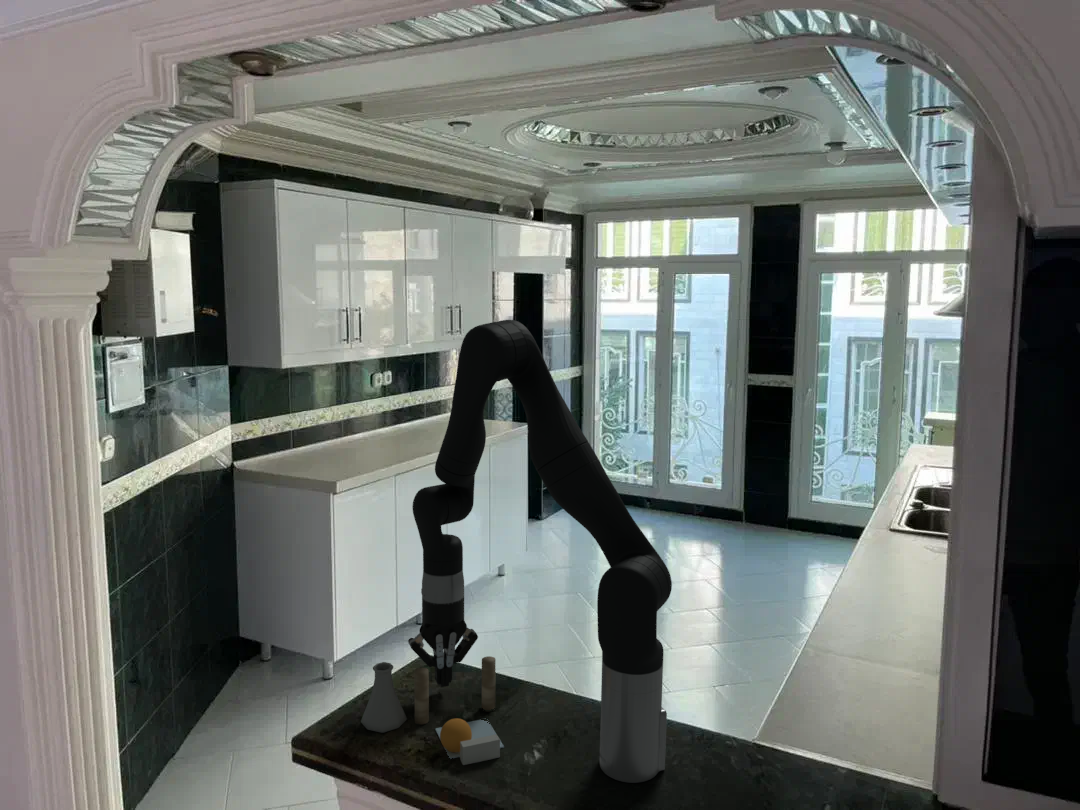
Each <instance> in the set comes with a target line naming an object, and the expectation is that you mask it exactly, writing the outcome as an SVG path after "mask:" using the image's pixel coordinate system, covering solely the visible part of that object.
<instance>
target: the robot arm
mask: <svg viewBox="0 0 1080 810" xmlns="http://www.w3.org/2000/svg"><path fill="white" fill-rule="evenodd" d="M504 380H507V381H508V382H509V383H510V384H511V386H512V388H513V390H514V391H515V392H516V395H517V396H518V399H519V400H520V403H521V404H522V408H523V409H524V413H525V417H526V425H527V427H526V429H527V436H528V437H527V439H528V440H527V441H528V450H529V455H530V459H531V462H532V464H533V466H534V468H535V470H536V472H537V474H538V475H539V477H540V480H541V481H542V482H543V484H544V486H545V488H546V490H547V491H548V493H549V494H550V496H551V497H552V499H553V500H554V501H555V502H556V503H557V505H558V506H560V507H561V509H562V510H563V511H565V512H566V513H567V514H568V515H569V516H570V517H572V518H573V519H574V520H575V521H577V522H578V523H579V524H580V525H581V526H582V527H583V528H584V529H585V530H587V531H588V533H589V534H590V535H591V536H592V538H593V539H594V540H595V542H596V543H597V544H598V546H599V548H600V549H601V551H602V554H603V555H604V557H605V559H606V561H607V563H608V565H609V567H610V568H608V569H607V570H606V571H605V572H604V574H603V575H602V576H601V578H600V580H599V584H598V587H597V588H598V589H597V597H596V598H597V605H596V606H597V607H596V608H597V611H596V612H597V614H596V615H597V639H598V645H599V646H600V648H601V686H600V687H601V692H600V693H601V694H600V695H601V696H600V697H601V699H600V729H599V730H600V732H599V733H600V734H599V735H600V737H599V752H598V753H599V767H600V769H601V772H603V773H604V774H605V776H608V777H610V778H612V779H614V780H616V781H619V782H622V783H628V784H629V783H633V784H637V783H643V782H647V781H649V780H651V779H653V778H655V776H657V774H658V773H659V772H661V771H664V770H665V769H666V768H665V767H666V750H667V749H666V746H667V717H668V716H667V715H668V713H667V710H666V709H665V708H663V707H662V706H663V704H662V701H663V679H664V678H663V677H664V676H663V675H664V646H663V644H662V642H661V641H660V640H659V639H658V638H657V633H658V632H657V630H658V629H657V625H658V623H657V622H658V621H657V620H658V616H657V615H658V611H659V610H660V609H661V608H662V607H664V605H665V603H666V602H667V601H668V600H669V598H670V596H671V593H672V588H673V584H672V583H673V582H672V578H671V577H672V576H671V574H670V570H669V569H668V567H667V565H666V563H665V562H664V560H663V559H662V557H661V556H660V554H659V553H658V551H657V550H656V549H655V547H654V546H653V545H652V544H651V542H650V541H649V539H648V538H647V537H646V535H645V534H644V532H643V531H642V529H641V528H640V527H639V525H638V524H637V523H636V521H635V520H634V518H633V517H632V515H631V514H630V512H629V510H628V509H627V507H626V505H625V503H624V501H623V499H622V497H621V496H620V494H619V493H618V491H617V489H616V488H615V486H614V484H613V483H612V481H611V479H610V478H609V475H608V474H607V472H606V470H605V469H604V467H603V465H602V463H601V461H600V460H599V458H598V456H597V453H595V451H594V449H593V447H592V446H591V444H590V442H589V441H588V439H587V437H586V436H585V433H583V431H582V429H581V428H580V426H579V424H578V423H577V421H576V419H575V417H574V416H573V414H572V412H571V410H570V409H569V406H568V405H567V403H566V401H565V399H564V397H563V396H562V394H561V392H560V390H559V388H558V387H557V384H556V382H555V381H554V378H553V377H552V374H551V372H550V370H549V367H548V366H547V363H546V361H545V359H544V356H543V354H542V352H541V349H540V347H539V345H538V343H537V341H536V340H535V338H534V336H533V334H532V333H531V331H529V329H528V327H526V326H525V325H524V324H523V323H521V322H520V321H518V320H514V319H502V320H497V321H492V322H488V323H484V324H480V325H476V326H474V327H472V328H471V329H470V330H468V332H467V333H466V334H465V335H464V337H463V340H462V343H461V346H460V349H459V355H458V360H457V368H456V376H455V382H454V386H453V387H454V388H453V395H452V401H451V409H450V414H449V415H450V416H449V420H448V424H447V427H446V429H445V430H446V431H445V433H444V437H443V440H442V442H441V445H440V449H439V452H438V455H437V458H436V461H435V465H434V473H435V475H436V477H437V478H438V480H439V481H441V482H442V484H436V485H431V486H430V485H429V486H425V487H423V488H421V489H419V490H418V491H417V493H415V496H414V498H413V502H412V505H411V506H412V508H411V509H412V514H413V518H414V521H415V524H416V528H417V531H418V535H419V539H420V542H421V547H422V562H423V563H422V577H421V578H422V579H421V592H420V593H421V621H422V622H421V626H420V627H419V633H418V634H417V635H415V637H410V638H409V639H408V641H407V643H408V645H409V646H410V648H411V650H412V651H413V652H414V653H415V654H416V655H417V656H418V657H419V658H420V659H421V660H422V661H423V662H424V664H426V665H427V667H428V668H432V667H434V680H435V682H436V684H437V685H438V686H439V687H440V688H445V687H449V686H450V683H451V682H453V666H454V664H456V663H461V662H463V660H464V659H465V657H466V655H467V654H468V653H469V651H470V650H471V649H472V647H473V645H474V644H475V643H476V642H477V640H478V638H479V636H478V633H476V631H475V630H474V629H473V628H469V627H468V626H467V623H466V622H465V621H466V620H465V578H464V577H465V576H464V564H463V563H464V560H463V559H464V555H463V553H464V552H463V551H464V548H463V547H464V546H463V542H462V540H461V538H460V537H459V536H457V535H454V534H449V533H443V532H442V526H444V525H448V524H449V525H450V524H453V523H454V524H455V523H457V522H460V521H461V522H462V521H463V520H465V519H466V518H467V517H468V516H469V515H470V513H471V512H472V510H473V507H474V499H475V498H474V497H475V479H476V478H475V477H476V476H475V475H476V472H477V470H478V467H479V464H480V462H481V460H482V456H483V453H484V450H485V446H486V442H487V441H486V439H487V437H486V436H487V433H486V432H487V431H486V424H485V418H484V415H485V414H484V411H485V407H486V402H487V400H488V398H489V396H490V394H491V391H492V390H493V388H494V386H495V385H496V383H497V382H500V381H504ZM424 641H425V642H426V644H427V645H428V646H429V647H430V648H431V649H432V654H433V656H431V655H430V654H429V653H428V652H427V651H426V649H424V646H425V644H424Z"/></svg>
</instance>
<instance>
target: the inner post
mask: <svg viewBox="0 0 1080 810" xmlns="http://www.w3.org/2000/svg"><path fill="white" fill-rule="evenodd" d="M482 708H483V709H485V710H491V709H494V708H495V709H496V657H494V656H484V657H481V709H482ZM495 709H494V710H495Z"/></svg>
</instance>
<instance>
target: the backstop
mask: <svg viewBox="0 0 1080 810" xmlns="http://www.w3.org/2000/svg"><path fill="white" fill-rule="evenodd" d="M500 741H501V739H500V737H499V736H498V734H497V733H496V734H495V735H491V736H486V737H481V738H476V739H471V740H466V741H461V742H460V757H459V760H460V762H461V764H462V765H463V766H466V765H471V764H476V763H480V762H485V761H488V760H493V759H498V758H500V757H501V748H500Z"/></svg>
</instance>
